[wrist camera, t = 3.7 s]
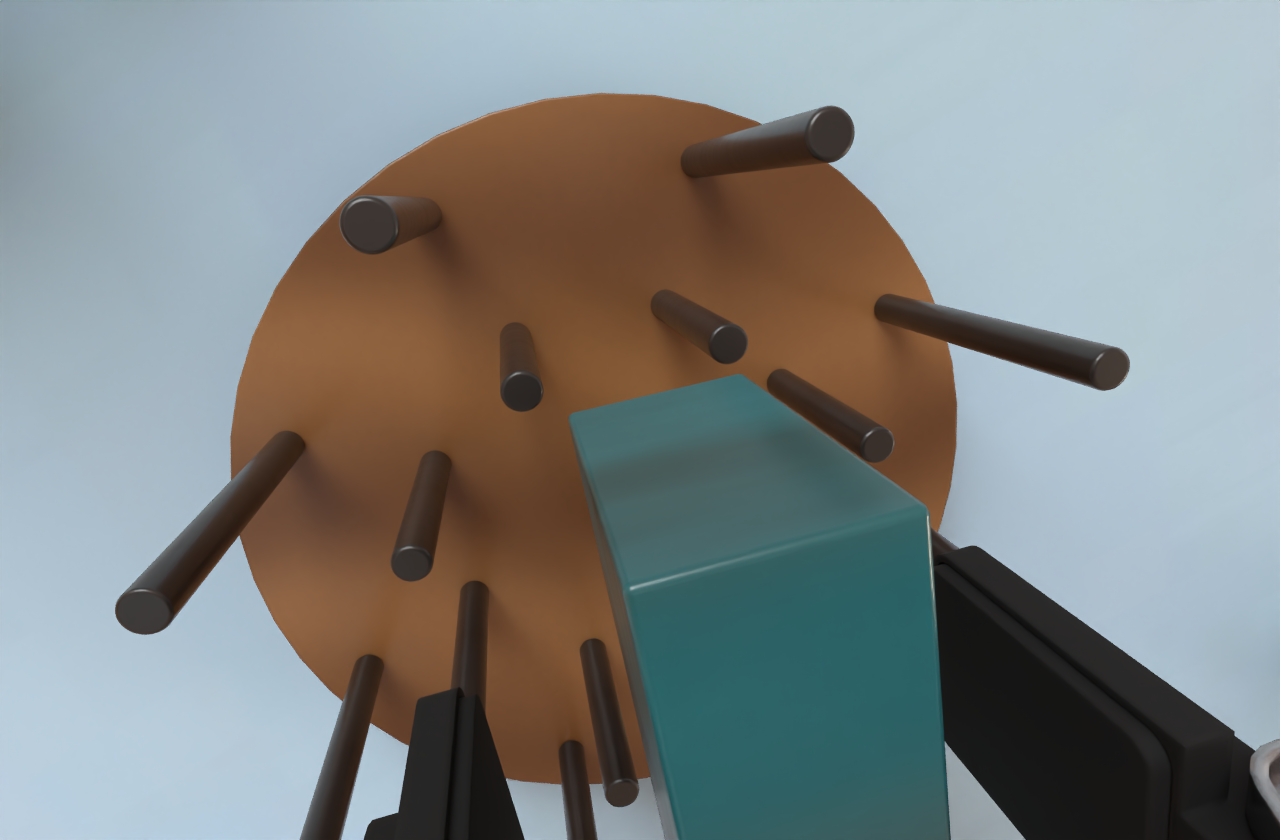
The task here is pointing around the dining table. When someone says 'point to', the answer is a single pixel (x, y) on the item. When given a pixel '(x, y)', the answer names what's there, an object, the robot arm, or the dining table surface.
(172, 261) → the dining table surface
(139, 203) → the dining table surface
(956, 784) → the dining table surface
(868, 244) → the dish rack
